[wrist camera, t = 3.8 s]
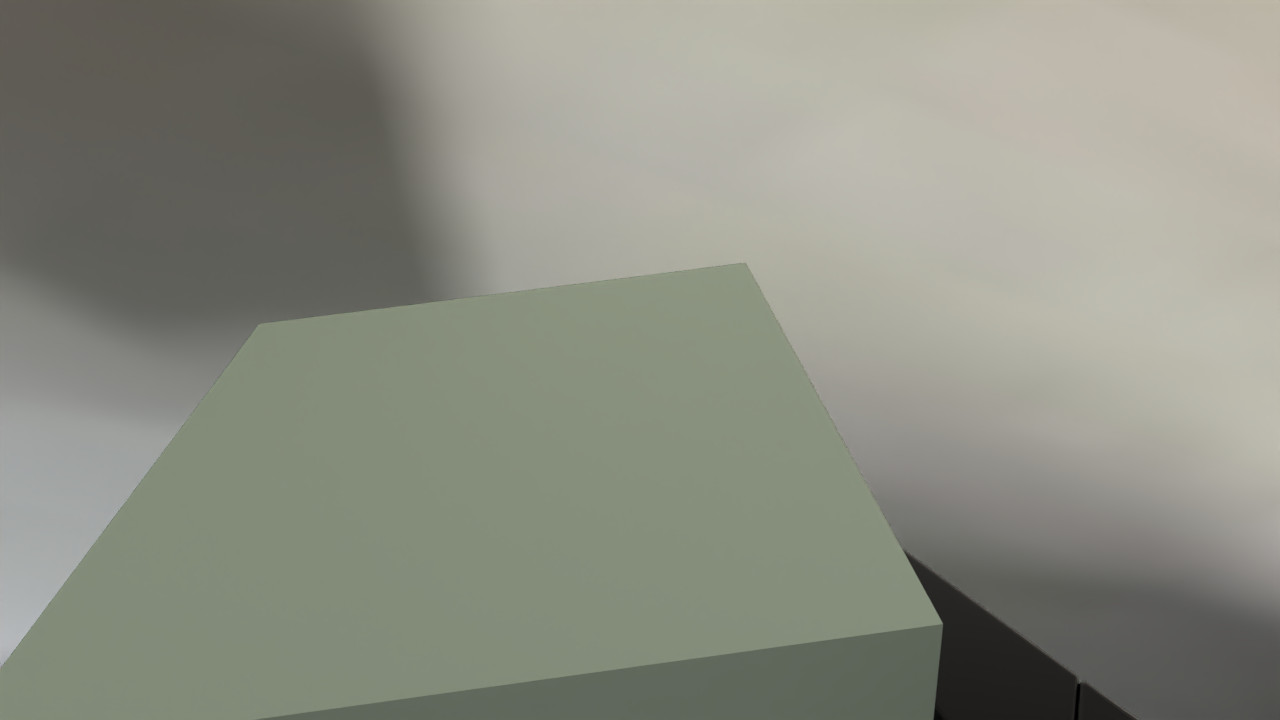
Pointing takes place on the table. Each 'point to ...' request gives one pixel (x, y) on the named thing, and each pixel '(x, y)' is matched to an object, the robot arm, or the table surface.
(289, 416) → the sage cube
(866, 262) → the table surface
